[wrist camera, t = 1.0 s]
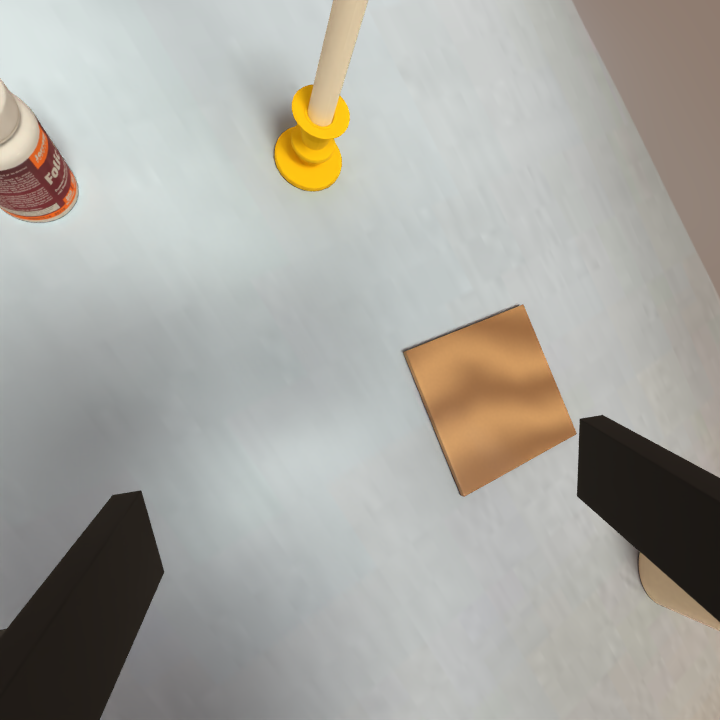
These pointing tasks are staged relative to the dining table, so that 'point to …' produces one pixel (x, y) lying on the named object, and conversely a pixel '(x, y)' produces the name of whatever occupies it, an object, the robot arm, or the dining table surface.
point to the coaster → (490, 397)
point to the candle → (322, 107)
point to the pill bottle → (31, 166)
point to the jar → (672, 594)
